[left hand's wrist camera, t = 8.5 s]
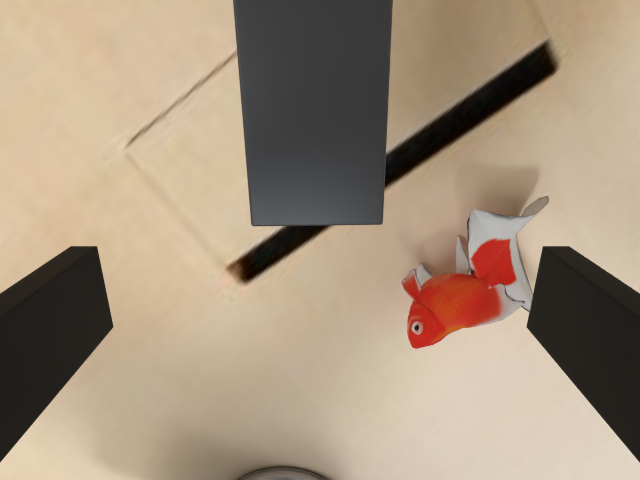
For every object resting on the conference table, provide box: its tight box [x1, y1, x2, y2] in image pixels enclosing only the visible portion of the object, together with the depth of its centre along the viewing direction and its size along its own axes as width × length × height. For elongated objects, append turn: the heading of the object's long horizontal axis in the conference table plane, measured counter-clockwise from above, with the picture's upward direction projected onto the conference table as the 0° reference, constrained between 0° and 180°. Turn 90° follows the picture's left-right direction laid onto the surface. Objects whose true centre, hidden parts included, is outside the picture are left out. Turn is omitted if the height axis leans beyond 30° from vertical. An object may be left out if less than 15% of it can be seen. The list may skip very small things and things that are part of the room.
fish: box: [402, 196, 549, 349], centre depth 34 cm, size 11×16×10 cm
